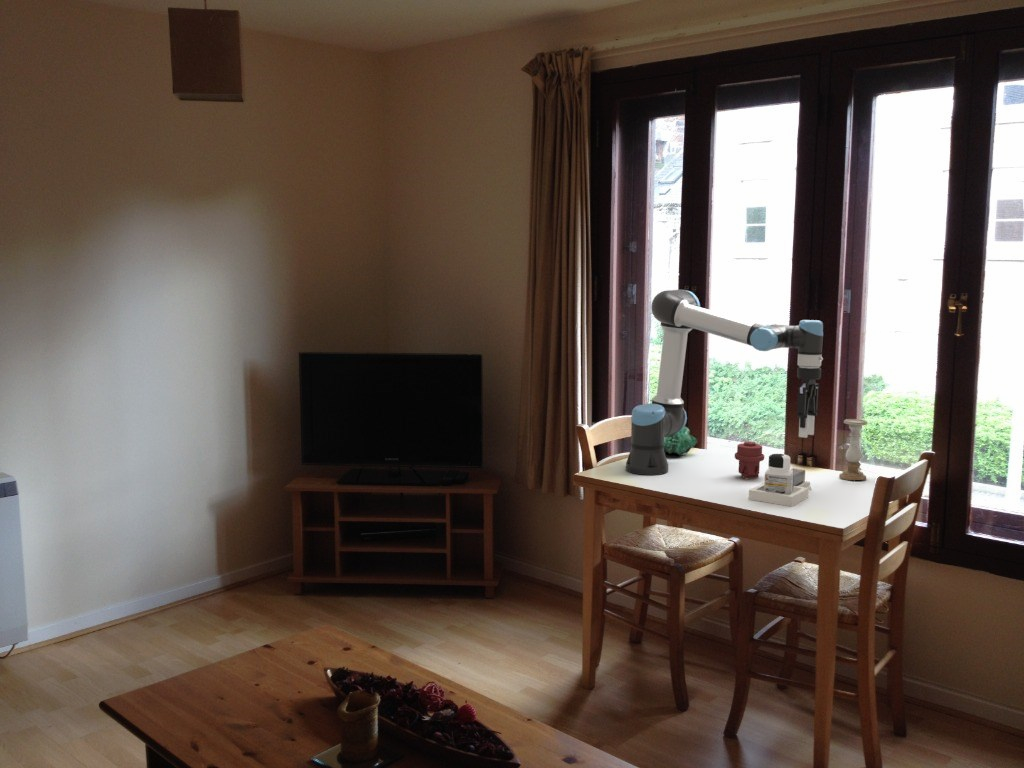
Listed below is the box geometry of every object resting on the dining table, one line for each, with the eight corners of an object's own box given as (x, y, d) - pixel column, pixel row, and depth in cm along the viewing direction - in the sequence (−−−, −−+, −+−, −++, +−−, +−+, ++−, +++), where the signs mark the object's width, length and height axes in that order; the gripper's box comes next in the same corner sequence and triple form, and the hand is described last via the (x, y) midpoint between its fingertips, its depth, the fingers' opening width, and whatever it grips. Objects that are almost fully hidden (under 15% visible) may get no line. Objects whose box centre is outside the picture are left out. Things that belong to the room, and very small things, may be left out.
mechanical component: (731, 473, 315) (760, 474, 314) (736, 480, 305) (765, 481, 304) (733, 439, 313) (762, 440, 312) (737, 445, 303) (767, 445, 302)
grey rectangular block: (781, 488, 288) (782, 473, 287) (792, 482, 296) (793, 468, 295) (793, 490, 286) (794, 475, 285) (804, 484, 293) (805, 469, 293)
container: (763, 496, 279) (765, 456, 278) (767, 491, 286) (768, 451, 285) (789, 499, 276) (791, 458, 274) (792, 493, 283) (793, 453, 281)
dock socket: (748, 499, 280) (748, 489, 280) (778, 484, 299) (779, 475, 299) (791, 506, 271) (792, 496, 271) (820, 490, 291) (820, 481, 291)
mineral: (654, 449, 357) (655, 424, 356) (694, 449, 356) (695, 425, 354) (657, 458, 339) (658, 433, 338) (699, 459, 337) (700, 433, 336)
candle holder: (871, 480, 304) (874, 422, 302) (847, 481, 303) (850, 423, 300) (857, 475, 313) (860, 418, 310) (834, 475, 311) (837, 418, 309)
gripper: (810, 370, 284) (807, 441, 287) (830, 365, 298) (826, 433, 301) (787, 368, 289) (785, 438, 292) (808, 363, 303) (804, 430, 306)
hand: (806, 435), depth 297 cm, fingers open, 5 cm apart
